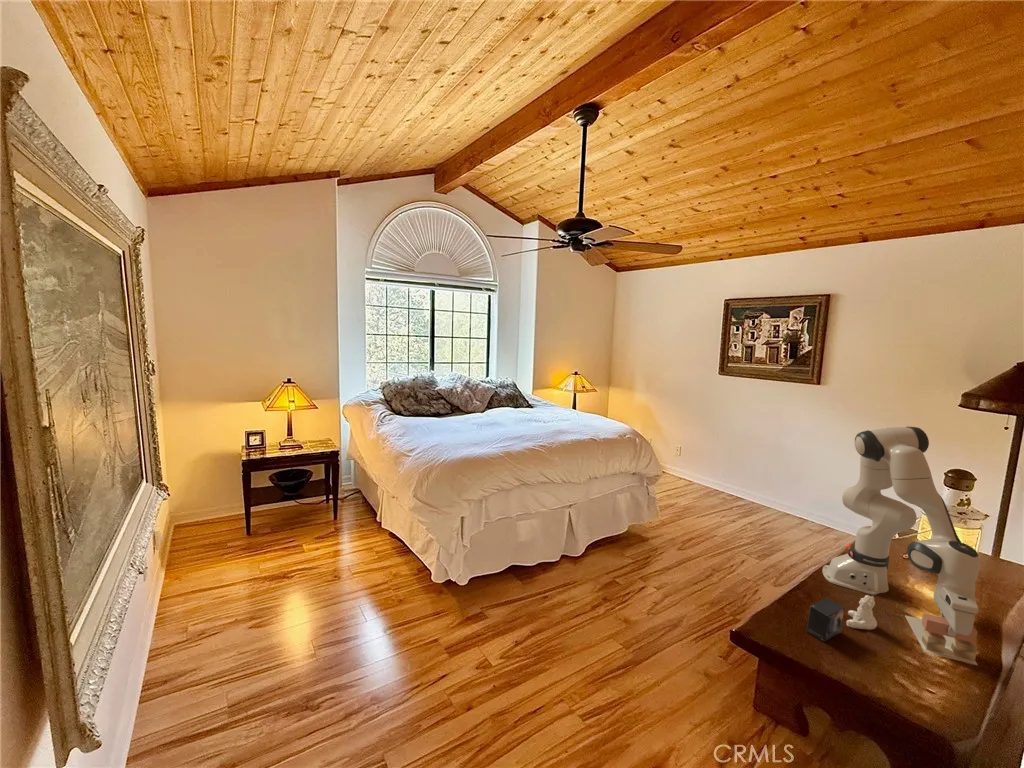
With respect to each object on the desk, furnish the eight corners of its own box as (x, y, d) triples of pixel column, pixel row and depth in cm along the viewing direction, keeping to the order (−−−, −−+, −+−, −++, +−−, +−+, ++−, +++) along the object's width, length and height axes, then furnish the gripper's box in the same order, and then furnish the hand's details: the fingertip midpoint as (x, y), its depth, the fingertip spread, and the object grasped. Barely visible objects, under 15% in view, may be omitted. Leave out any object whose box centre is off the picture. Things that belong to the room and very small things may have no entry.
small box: (824, 643, 158) (828, 616, 156) (805, 631, 164) (808, 605, 162) (842, 633, 163) (845, 606, 161) (822, 622, 168) (826, 596, 167)
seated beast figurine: (847, 612, 174) (851, 584, 172) (876, 622, 168) (881, 593, 166) (845, 626, 166) (849, 596, 164) (876, 637, 161) (880, 606, 159)
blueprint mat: (924, 652, 154) (924, 651, 153) (904, 616, 172) (904, 615, 172) (978, 666, 148) (978, 665, 148) (951, 627, 166) (951, 625, 166)
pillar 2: (956, 656, 151) (958, 643, 150) (950, 647, 155) (953, 634, 154) (974, 661, 149) (977, 647, 148) (968, 652, 153) (971, 638, 152)
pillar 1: (926, 649, 155) (928, 635, 154) (921, 640, 159) (923, 627, 158) (943, 653, 153) (946, 640, 152) (938, 644, 157) (940, 631, 156)
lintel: (975, 643, 148) (977, 632, 148) (925, 630, 154) (927, 619, 153) (970, 635, 152) (972, 624, 151) (921, 623, 157) (923, 612, 157)
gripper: (931, 573, 161) (925, 608, 163) (953, 606, 143) (946, 645, 145) (955, 578, 158) (948, 614, 160) (981, 612, 140) (973, 652, 142)
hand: (947, 629), depth 153 cm, fingers closed on lintel, 4 cm apart
